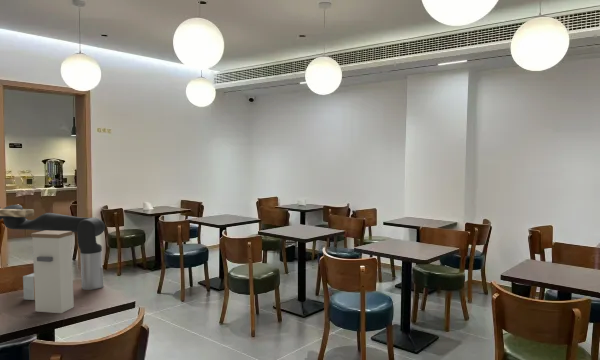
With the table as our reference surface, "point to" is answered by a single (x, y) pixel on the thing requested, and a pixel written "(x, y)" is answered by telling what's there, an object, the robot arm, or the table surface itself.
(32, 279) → the small box
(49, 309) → the white tall carton
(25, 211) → the tan wooden plank
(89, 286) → the robot arm
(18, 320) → the table surface
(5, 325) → the table surface
